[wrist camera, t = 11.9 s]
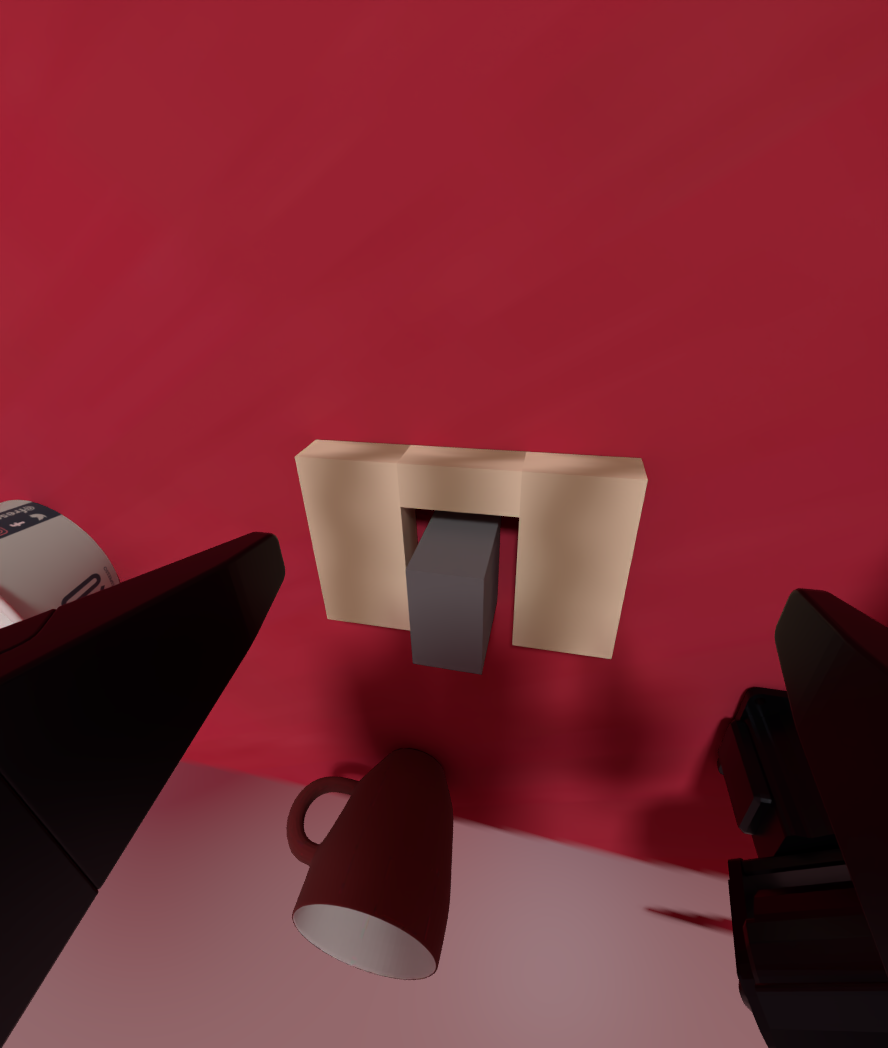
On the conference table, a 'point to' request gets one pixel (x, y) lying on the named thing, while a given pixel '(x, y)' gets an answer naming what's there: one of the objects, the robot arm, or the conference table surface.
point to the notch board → (482, 488)
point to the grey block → (454, 590)
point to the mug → (379, 868)
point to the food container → (45, 561)
